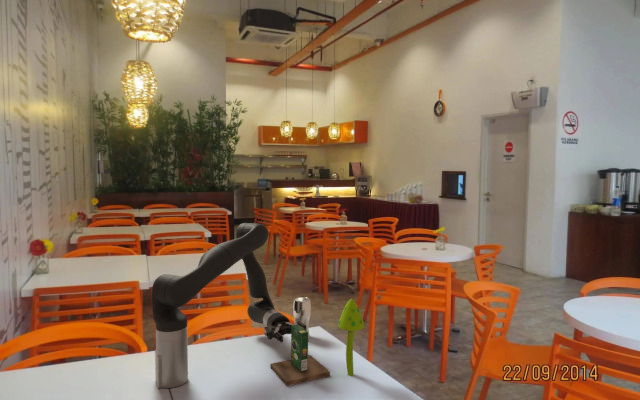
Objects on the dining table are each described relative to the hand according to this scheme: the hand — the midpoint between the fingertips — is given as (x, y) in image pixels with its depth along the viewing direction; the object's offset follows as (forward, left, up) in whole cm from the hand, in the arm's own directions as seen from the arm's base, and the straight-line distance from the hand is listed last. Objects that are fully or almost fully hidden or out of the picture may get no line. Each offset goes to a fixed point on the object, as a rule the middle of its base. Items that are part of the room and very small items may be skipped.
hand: (293, 337), depth 146 cm
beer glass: (+14, +23, -10) cm, 29 cm away
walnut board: (0, -5, -10) cm, 11 cm away
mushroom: (+14, -14, -10) cm, 22 cm away
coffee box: (0, -5, -9) cm, 10 cm away
